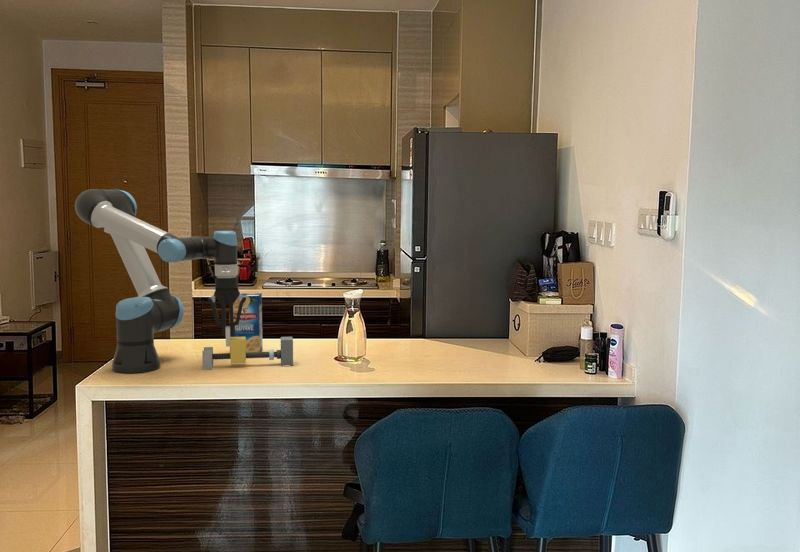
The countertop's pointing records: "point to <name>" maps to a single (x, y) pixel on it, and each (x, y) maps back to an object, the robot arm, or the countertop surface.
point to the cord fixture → (253, 354)
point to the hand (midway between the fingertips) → (228, 345)
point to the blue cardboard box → (249, 321)
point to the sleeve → (238, 350)
